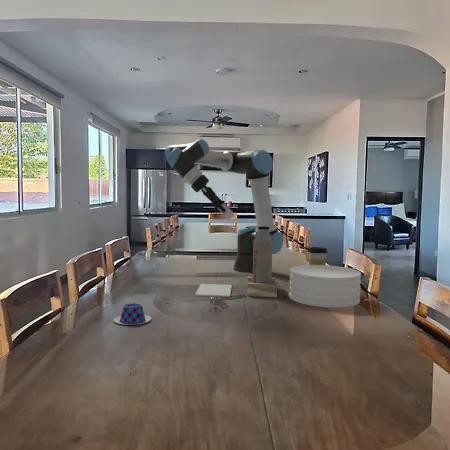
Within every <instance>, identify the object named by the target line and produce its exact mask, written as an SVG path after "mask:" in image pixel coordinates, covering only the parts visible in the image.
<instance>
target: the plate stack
mask: <svg viewBox="0 0 450 450" xmlns="http://www.w3.org/2000/svg"><path fill="white" fill-rule="evenodd" d="M289 273H290V274H289V287H288V291H289V293H288V297H289V299H290V300H291V301H294V302H297V303H299V304H303V305H306V306H311V307H312V306H313V307H321V308H331V309H333V308H336V309H337V308H348V307H354V306H357V305H359V304H360V303H361V289H362V287H361V284H362V280H361V277H362V272H361V271H359V270H357V269H353V268H349V267H344V266H337V265H326V264H325V265H309V264H303V265H302V264H301V265H295V266H291V267H290V268H289Z"/></svg>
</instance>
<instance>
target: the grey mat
mask: <svg viewBox="0 0 450 450" xmlns="http://www.w3.org/2000/svg"><path fill="white" fill-rule="evenodd" d="M232 286H233V285H232V284H216V283H213V284H211V283H210V284H209V283H200V284H199V286H198V289H197V290H196V292H195V297H215V298H216V297H218V298H221V297H222V298H231V292H232Z"/></svg>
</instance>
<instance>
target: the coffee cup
mask: <svg viewBox="0 0 450 450" xmlns="http://www.w3.org/2000/svg"><path fill="white" fill-rule="evenodd" d="M307 252H308V265H326V262H327V254H328V253H329V252H328V249H327V248H326V247H323V246H322V247H318V246H310V247H308V249H307Z"/></svg>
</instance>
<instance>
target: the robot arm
mask: <svg viewBox="0 0 450 450" xmlns="http://www.w3.org/2000/svg"><path fill="white" fill-rule="evenodd" d="M164 156H165V157H164V158H165V159H166V161H167V163H168V164H169V166H171V168H172V169H173V170H174V171H175V172H176V173H177V174H178V175H179V176H180V177H181V178H182V179H183V183H187V184H188V185H189V186H190V188H191V189H192V190H193V191H194V192H195V193H199V192H202V194H203V196H205V197H206V198H207V199H208V200H209V201H210V202H211V203H212V205H214V207H213V208H214V209H215V210H218V211H219V212H220V213H221V214H222V215H223V216H224V218H226V219H227V221H229V220H230V219H231V218H232V217H233V216H234V215H235V213H234V212H233V210H232V209H230V208H229V206H228V205H227V204H226V201H225V200H222V199H221V198H220V197H219V196H218V195H217V194H216V192H215V191H214V190H213V189H212V187H210V186H207V184H208V183H209V182H210V179H209V178H208V177H207V176H206V175H205V174H203V171H201V170H200V169H199V167H198V166H197V165H199V166H206V167H212V168H213V167H214V168H219V169H221V170H222V171H225V172H231V173H236V174H240V175H245V177H246V178H245V179H246V180H247V181H248V182H249V183H250V190H251V194H252V201H253V202H252V203H253V206H254V207H253V208H254V213H255V221H256V227H244V228H243V227H242V228H239V229H238V230H237V246H236V247H237V252H236V253H237V254H236V258H235V261H234V263H233V270H235V271H237V272H245V273H249V272H250V273H253V245H254V239H255V235H256V234H257V233H258V227H261V226H264V227H270V229H269V234H270V235H271V240H273V247H272V255H276V254H278V253H279V252H280V251H281V250H282V248H283V246H284V242H285V240H284V235H283V233H281V232H280V231H278V226H277V225H276V224H275V223H274V218H273V209H272V203H271V196H270V190H269V189H270V188H269V183H268V179H269V178H270V173H271V172H272V170H273V166H274V163H273V158H272V156H271V154H270V153H269V152H268V151H267V150H265V149H264V150H263V149H250V150H239V151H224V152H221V151H214V150H210V146H209V144H208V142H207V141H206V140H204V139H203V138H198V139H197V140H194V141H193V142H189V143H182V144H181V143H180V144H171V145H168V146H167V147H166V148H165V150H164Z"/></svg>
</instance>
